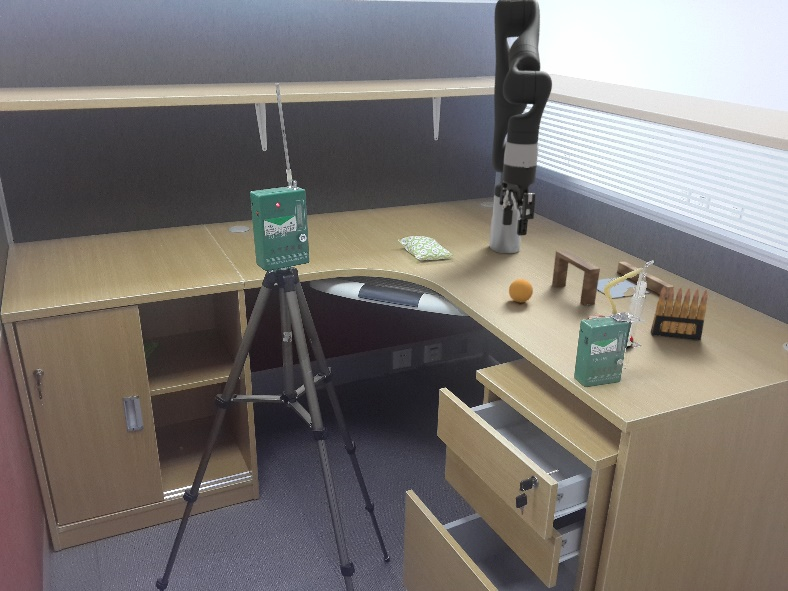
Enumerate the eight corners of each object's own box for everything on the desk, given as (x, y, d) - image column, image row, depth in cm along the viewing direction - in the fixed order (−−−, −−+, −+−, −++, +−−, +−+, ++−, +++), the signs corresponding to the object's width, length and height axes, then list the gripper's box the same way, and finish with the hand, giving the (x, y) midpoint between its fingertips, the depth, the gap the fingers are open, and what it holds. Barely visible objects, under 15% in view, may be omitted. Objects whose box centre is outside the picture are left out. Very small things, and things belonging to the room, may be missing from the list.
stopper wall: (617, 272, 190) (618, 262, 189) (622, 271, 191) (624, 261, 190) (666, 297, 173) (668, 287, 172) (672, 296, 174) (674, 286, 173)
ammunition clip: (651, 335, 152) (660, 287, 148) (650, 332, 154) (659, 284, 149) (700, 340, 150) (711, 292, 146) (699, 337, 152) (709, 289, 147)
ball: (503, 298, 171) (505, 277, 169) (523, 295, 173) (526, 274, 171) (515, 307, 166) (517, 285, 163) (536, 304, 168) (538, 282, 165)
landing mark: (584, 282, 182) (584, 281, 182) (620, 277, 186) (620, 276, 186) (612, 298, 172) (612, 298, 172) (649, 293, 176) (649, 292, 176)
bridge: (584, 305, 168) (589, 269, 164) (551, 284, 181) (555, 250, 177) (594, 304, 169) (600, 268, 165) (561, 283, 182) (565, 249, 178)
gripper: (493, 156, 158) (488, 222, 164) (518, 168, 145) (511, 239, 151) (522, 156, 160) (516, 221, 166) (549, 167, 147) (541, 237, 153)
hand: (514, 229), depth 158 cm, fingers open, 8 cm apart
